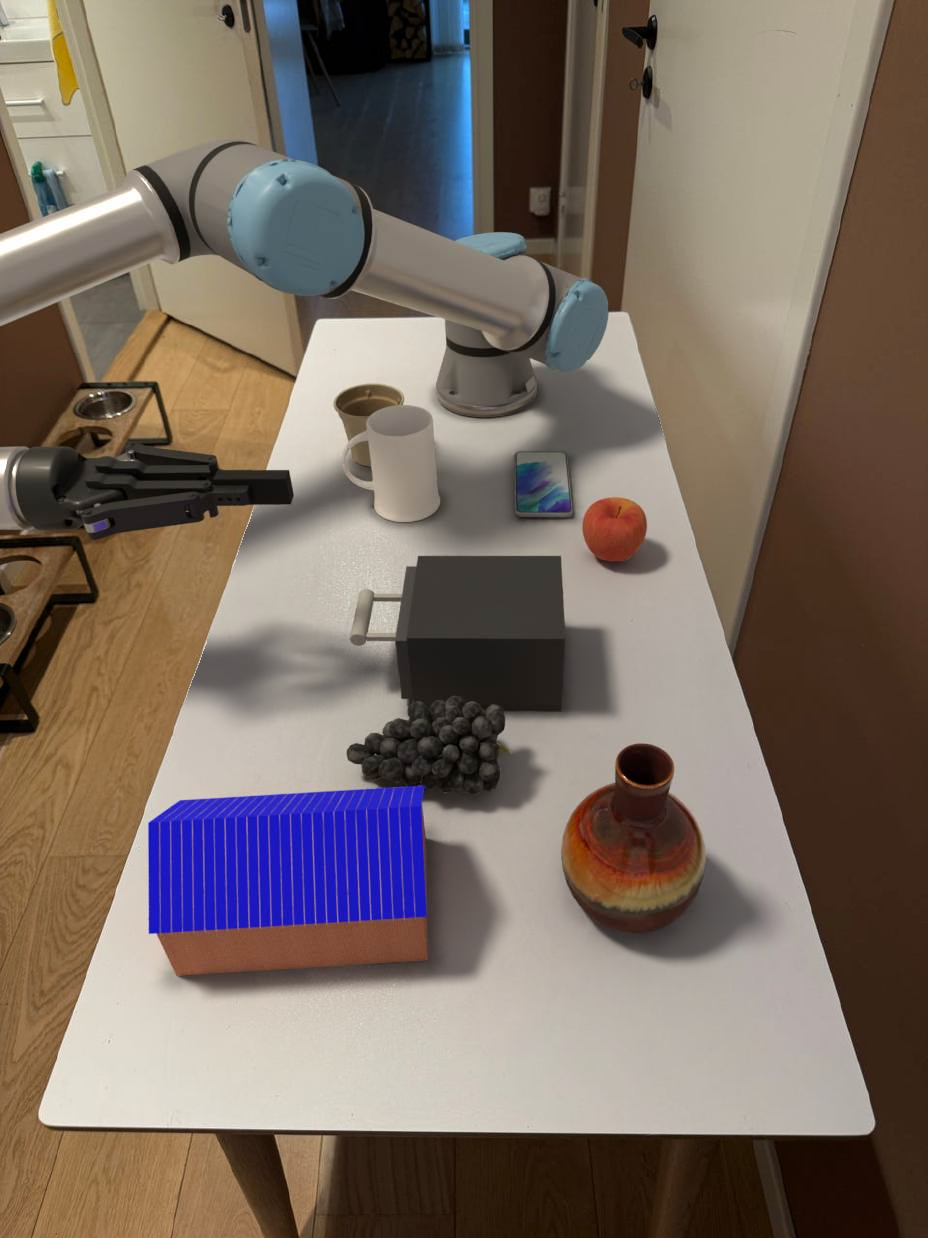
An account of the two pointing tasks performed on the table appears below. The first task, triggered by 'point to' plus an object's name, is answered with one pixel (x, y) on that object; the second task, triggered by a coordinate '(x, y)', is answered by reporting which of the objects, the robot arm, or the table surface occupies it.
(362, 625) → the drawer
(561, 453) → the smartphone
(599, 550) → the apple
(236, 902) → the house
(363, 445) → the flower pot
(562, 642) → the cabinet
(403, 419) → the mug
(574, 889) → the vase
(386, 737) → the fruit
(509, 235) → the robot arm
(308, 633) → the table surface
